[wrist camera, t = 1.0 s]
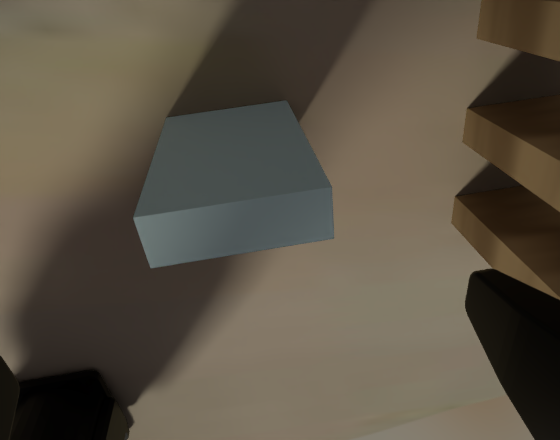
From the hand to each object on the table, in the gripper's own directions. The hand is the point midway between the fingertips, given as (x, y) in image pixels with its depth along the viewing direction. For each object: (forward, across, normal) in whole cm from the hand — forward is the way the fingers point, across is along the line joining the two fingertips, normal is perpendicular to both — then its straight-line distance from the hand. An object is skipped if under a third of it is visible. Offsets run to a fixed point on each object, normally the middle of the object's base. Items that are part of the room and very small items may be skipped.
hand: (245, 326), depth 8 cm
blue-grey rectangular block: (+11, 0, 0) cm, 11 cm away
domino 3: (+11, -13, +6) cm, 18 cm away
